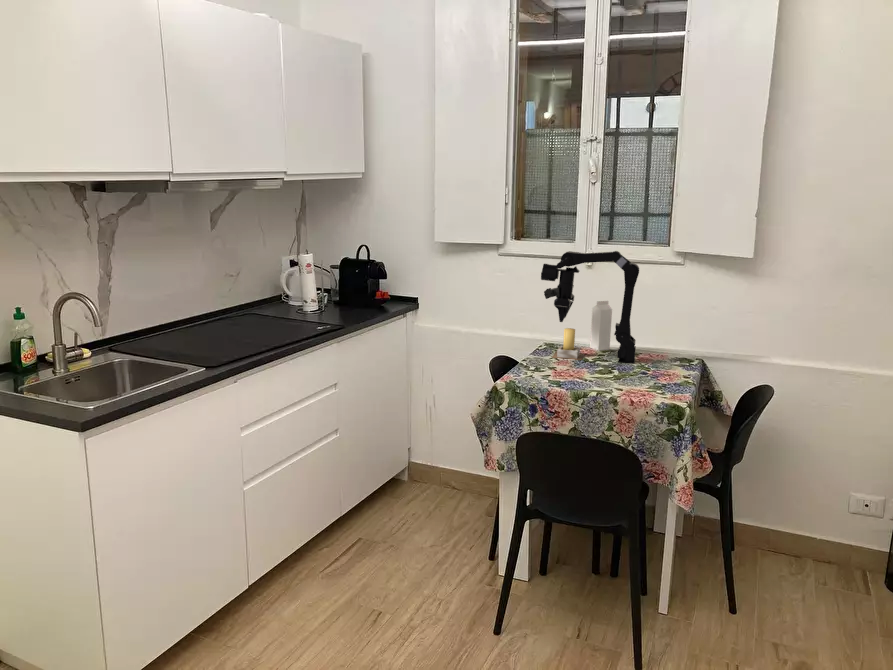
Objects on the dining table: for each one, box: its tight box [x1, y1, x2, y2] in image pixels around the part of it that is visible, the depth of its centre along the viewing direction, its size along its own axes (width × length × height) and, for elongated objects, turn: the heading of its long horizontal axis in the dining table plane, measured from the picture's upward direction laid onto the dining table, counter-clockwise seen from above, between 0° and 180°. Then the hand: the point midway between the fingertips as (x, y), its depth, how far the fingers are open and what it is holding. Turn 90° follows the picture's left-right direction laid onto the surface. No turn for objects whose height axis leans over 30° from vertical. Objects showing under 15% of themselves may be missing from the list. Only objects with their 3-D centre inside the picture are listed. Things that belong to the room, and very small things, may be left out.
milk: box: [589, 300, 613, 351], centre depth 303 cm, size 6×6×22 cm
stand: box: [551, 345, 585, 361], centre depth 290 cm, size 12×12×4 cm
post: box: [562, 327, 576, 351], centre depth 289 cm, size 4×4×11 cm
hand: (562, 320), depth 293 cm, fingers open, 9 cm apart
